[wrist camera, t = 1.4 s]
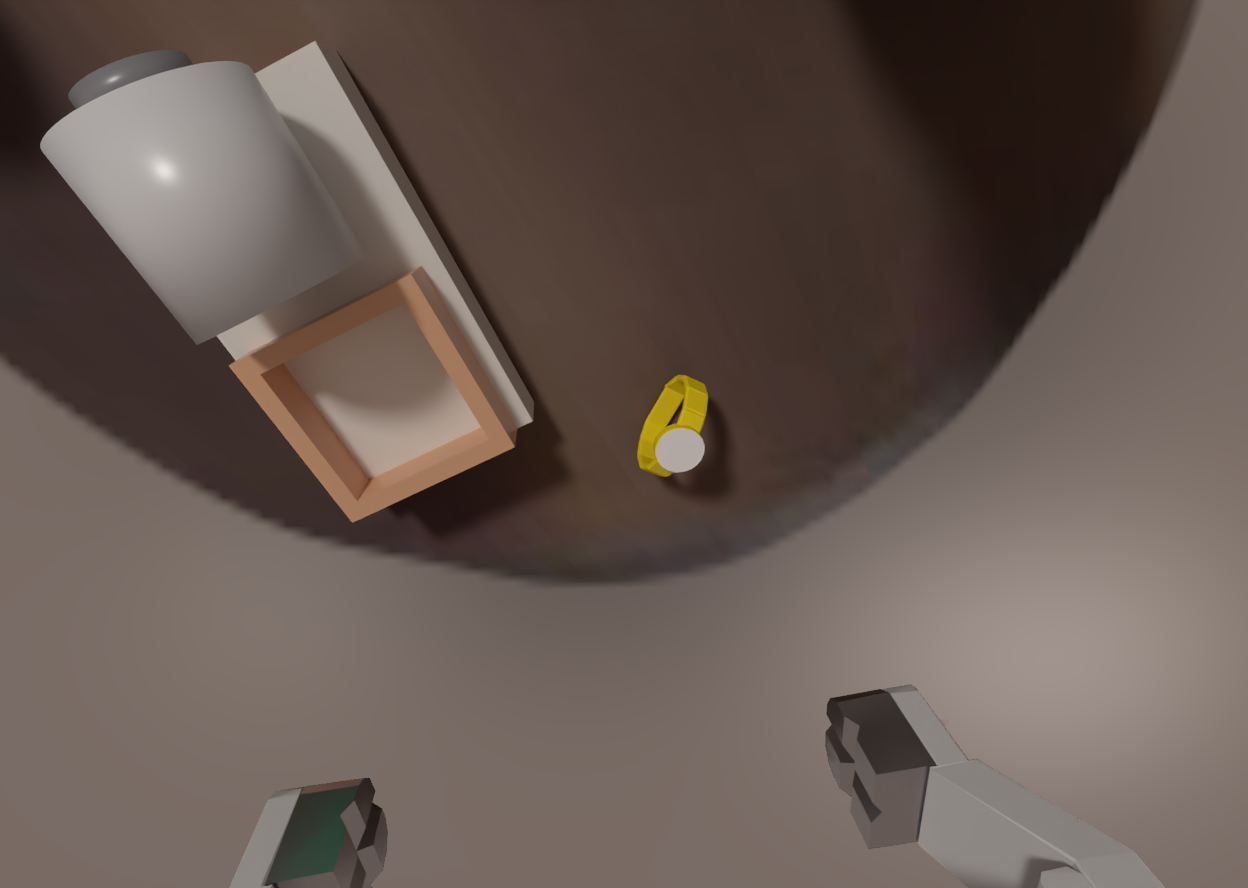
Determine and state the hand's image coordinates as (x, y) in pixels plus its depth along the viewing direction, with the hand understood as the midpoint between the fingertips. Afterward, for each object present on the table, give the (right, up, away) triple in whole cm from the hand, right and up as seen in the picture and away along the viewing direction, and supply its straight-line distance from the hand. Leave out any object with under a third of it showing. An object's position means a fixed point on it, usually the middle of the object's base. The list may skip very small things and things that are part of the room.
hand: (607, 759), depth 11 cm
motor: (-15, +14, +23) cm, 31 cm away
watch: (+3, +8, +28) cm, 30 cm away
